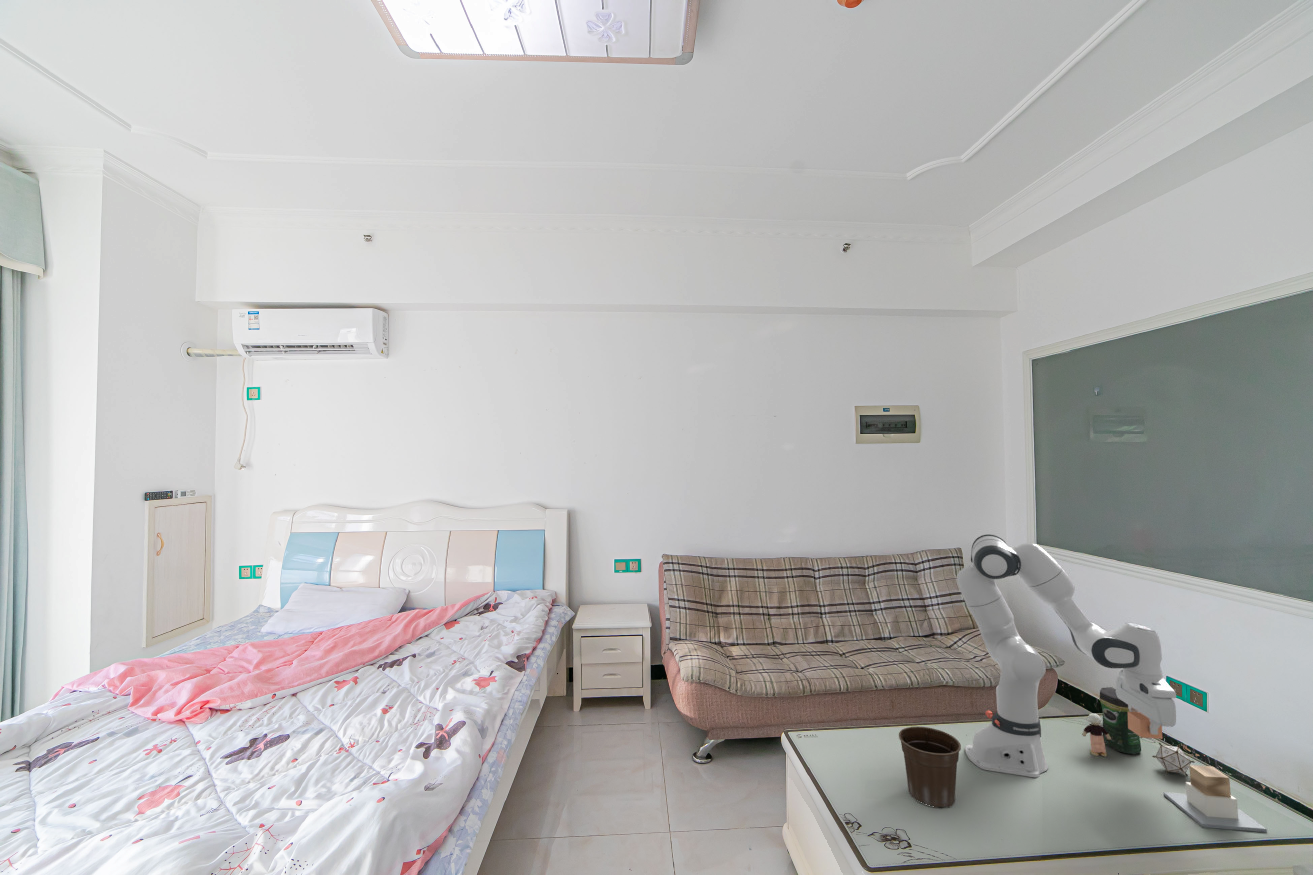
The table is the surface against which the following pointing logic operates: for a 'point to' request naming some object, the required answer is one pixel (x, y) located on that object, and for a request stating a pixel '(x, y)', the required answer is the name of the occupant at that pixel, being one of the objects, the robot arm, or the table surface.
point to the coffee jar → (1117, 723)
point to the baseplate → (1213, 820)
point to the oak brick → (1210, 781)
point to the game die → (1173, 759)
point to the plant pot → (930, 764)
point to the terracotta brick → (1141, 725)
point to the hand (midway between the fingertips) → (1144, 727)
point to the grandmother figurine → (1096, 735)
